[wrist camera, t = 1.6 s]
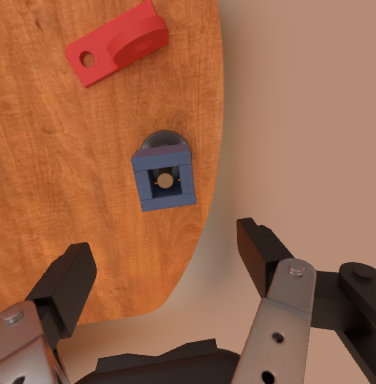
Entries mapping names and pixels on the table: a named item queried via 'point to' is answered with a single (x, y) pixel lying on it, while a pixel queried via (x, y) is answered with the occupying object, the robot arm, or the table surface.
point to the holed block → (153, 193)
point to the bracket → (118, 43)
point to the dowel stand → (161, 139)
